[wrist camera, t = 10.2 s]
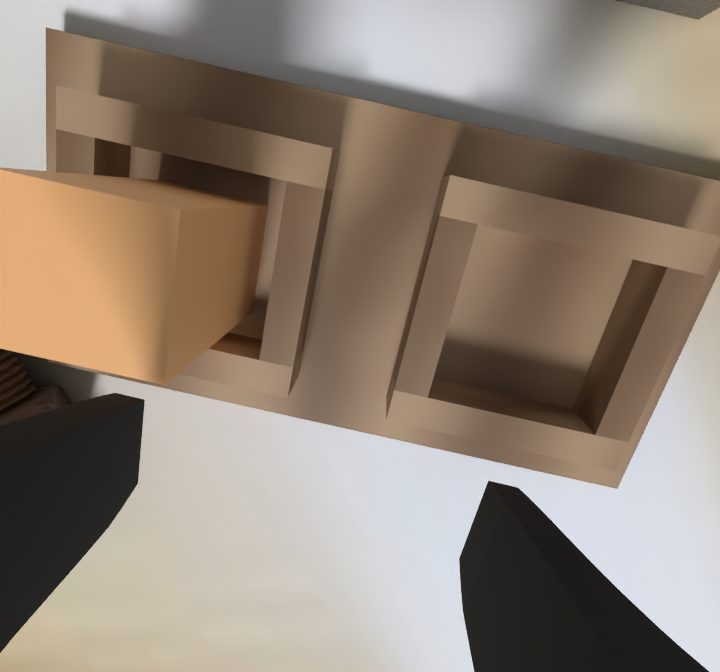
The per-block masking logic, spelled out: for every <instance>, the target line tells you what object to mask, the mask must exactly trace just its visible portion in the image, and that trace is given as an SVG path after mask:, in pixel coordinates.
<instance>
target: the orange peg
mask: <svg viewBox="0 0 720 672" xmlns="http://www.w3.org/2000/svg"><path fill="white" fill-rule="evenodd" d="M267 210H268V205H266V204H261V203H257V202H253V201H248V200H244V199H239V198H235V197H231V196H226V195H222V194H217V193H213V192H209V191H204V190H200V189H195V188H191V187H187V186H182V185H178V184H173V183H169V182H164V181H160V180H151V179H138V178H125V177H113V176H100V175H87V174H74V173H61V172H48V171H35V170H23V169H10V168H0V349H5V350H9V351H14V352H18V353H23V354H27V355H32V356H36V357H41V358H45V359H50V360H54V361H59V362H63V363H68V364H72V365H76V366H81V367H85V368H90V369H94V370H99V371H103V372H108V373H112V374H117V375H121V376H126V377H130V378H135V379H139V380H144V381H148V382H153V383H157V384H162V385H166V384H167V383H168V382H170V381H171V380H172V379H173V378H174V377H175V376H177V375H178V374H179V373H180V372H181V371H183V370H184V369H185V368H186V367H187V366H189V365H190V364H191V363H192V362H193V361H194V360H196V359H197V358H198V357H199V356H200V355H202V354H203V353H204V352H205V351H206V350H208V349H209V348H210V347H211V346H212V345H213V344H215V343H216V342H217V341H218V340H219V339H221V338H222V337H223V336H224V335H225V334H227V333H228V332H229V331H230V330H231V329H233V328H234V327H235V326H236V325H237V324H238V323H240V322H241V321H242V320H243V319H244V318H246V317H247V316H248V315H249V314H250V313H252V312H253V306H254V299H255V292H256V285H257V279H258V272H259V265H260V258H261V251H262V244H263V237H264V231H265V224H266V217H267Z"/></svg>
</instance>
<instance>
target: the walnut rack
mask: <svg viewBox="0 0 720 672" xmlns="http://www.w3.org/2000/svg"><path fill="white" fill-rule="evenodd" d="M46 155H47V171H48V172H61V173H74V174H87V175H100V176H113V177H125V178H138V179H151V180H160V181H164V182H169V183H173V184H178V185H182V186H187V187H191V188H195V189H200V190H204V191H209V192H213V193H217V194H222V195H226V196H231V197H235V198H239V199H244V200H248V201H253V202H257V203H261V204H266V205H268V210H267V217H266V224H265V231H264V237H263V244H262V251H261V258H260V265H259V272H258V279H257V285H256V292H255V299H254V306H253V312H252V313H250V314H249V315H248V316H247V317H246V318H244V319H243V320H242V321H241V322H240V323H238V324H237V325H236V326H235V327H234V328H233V329H231V330H230V331H229V332H228V333H227V334H225V335H224V336H223V337H222V338H221V339H219V340H218V341H217V342H216V343H215V344H213V345H212V346H211V347H210V348H209V349H208V350H206V351H205V352H204V353H203V354H202V355H200V356H199V357H198V358H197V359H196V360H194V361H193V362H192V363H191V364H190V365H189V366H187V367H186V368H185V369H184V370H183V371H181V372H180V373H179V374H178V375H177V376H175V377H174V378H173V379H172V380H171V381H170V382H168V383H167V384H166V385H162V384H157V383H153V382H148V381H144V380H139V379H135V378H130V377H126V376H121V375H117V374H112V373H108V372H103V371H99V370H94V369H90V368H85V367H81V366H76V365H72V364H68V363H63V362H59V361H54V360H50V359H47V362H49V363H54V364H58V365H63V366H67V367H72V368H76V369H81V370H85V371H90V372H94V373H99V374H103V375H108V376H112V377H117V378H121V379H126V380H130V381H135V382H139V383H144V384H148V385H153V386H157V387H162V388H166V389H171V390H175V391H180V392H184V393H189V394H193V395H198V396H202V397H207V398H211V399H216V400H220V401H225V402H229V403H234V404H238V405H243V406H247V407H252V408H256V409H261V410H265V411H270V412H274V413H279V414H283V415H288V416H292V417H297V418H301V419H306V420H310V421H315V422H319V423H324V424H328V425H333V426H337V427H342V428H346V429H351V430H355V431H360V432H364V433H369V434H373V435H378V436H382V437H387V438H391V439H396V440H400V441H405V442H409V443H414V444H418V445H423V446H427V447H432V448H436V449H441V450H445V451H450V452H454V453H459V454H463V455H468V456H472V457H477V458H481V459H486V460H490V461H495V462H499V463H504V464H509V465H513V466H518V467H522V468H527V469H531V470H536V471H540V472H545V473H549V474H554V475H558V476H563V477H567V478H572V479H576V480H581V481H585V482H590V483H594V484H599V485H603V486H608V487H612V488H618V486H619V484H620V482H621V480H622V477H623V475H624V473H625V471H626V469H627V467H628V465H629V462H630V460H631V458H632V456H633V454H634V452H635V450H636V448H637V445H638V443H639V441H640V439H641V437H642V435H643V433H644V430H645V428H646V426H647V424H648V422H649V420H650V418H651V416H652V413H653V411H654V409H655V407H656V405H657V403H658V401H659V398H660V396H661V394H662V392H663V390H664V388H665V386H666V384H667V381H668V379H669V377H670V375H671V373H672V371H673V369H674V366H675V364H676V362H677V360H678V358H679V356H680V354H681V352H682V349H683V347H684V345H685V343H686V341H687V339H688V337H689V334H690V332H691V330H692V328H693V326H694V324H695V322H696V319H697V317H698V315H699V313H700V311H701V309H702V307H703V305H704V302H705V300H706V298H707V296H708V294H709V292H710V290H711V287H712V285H713V283H714V281H715V279H716V277H717V275H718V273H719V270H720V181H718V180H713V179H709V178H704V177H700V176H696V175H691V174H687V173H683V172H678V171H674V170H669V169H665V168H661V167H656V166H652V165H647V164H643V163H639V162H634V161H630V160H625V159H621V158H617V157H612V156H608V155H603V154H599V153H595V152H590V151H586V150H582V149H577V148H573V147H568V146H564V145H560V144H555V143H551V142H546V141H542V140H538V139H533V138H529V137H524V136H520V135H516V134H511V133H507V132H502V131H498V130H494V129H489V128H485V127H481V126H476V125H472V124H467V123H463V122H459V121H454V120H450V119H445V118H441V117H437V116H432V115H428V114H423V113H419V112H415V111H410V110H406V109H401V108H397V107H393V106H388V105H384V104H380V103H375V102H371V101H366V100H362V99H358V98H353V97H349V96H344V95H340V94H336V93H331V92H327V91H322V90H318V89H314V88H309V87H305V86H300V85H296V84H292V83H287V82H283V81H279V80H274V79H270V78H265V77H261V76H257V75H252V74H248V73H243V72H239V71H235V70H230V69H226V68H221V67H217V66H213V65H208V64H204V63H199V62H195V61H191V60H186V59H182V58H178V57H173V56H169V55H164V54H160V53H156V52H151V51H147V50H142V49H138V48H134V47H129V46H125V45H120V44H116V43H112V42H107V41H103V40H99V39H94V38H90V37H85V36H81V35H77V34H72V33H68V32H63V31H59V30H55V29H50V28H46Z"/></svg>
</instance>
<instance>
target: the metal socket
mask: <svg viewBox="0 0 720 672" xmlns="http://www.w3.org/2000/svg"><path fill="white" fill-rule="evenodd" d="M617 1H621V2H626V3H630V4H634V5H639V6H643V7H648V8H652V9H656V10H661V11H665V12H669V13H674V14H678V15H682V16H687V17H691V18H695V19H700V18H702V17H704V16H705V15H707V14H709V13H711V12H712V11H714V10H716V9H718V8H719V7H720V0H617Z"/></svg>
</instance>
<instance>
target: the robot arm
mask: <svg viewBox="0 0 720 672" xmlns="http://www.w3.org/2000/svg"><path fill="white" fill-rule="evenodd" d="M143 412H144V400H143V399H139V398H134V397H130V396H126V395H122V394H117V393H113V394H108V395H104V396H100V397H96V398H92V399H88V400H85V401H81V402H78V403H74V404H71V405H68V406H64V407H61V408H58V409H54V410H51V411H48V412H44V413H41V414H38V415H34V416H31V417H28V418H24V419H21V420H18V421H14V422H11V423H8V424H4V425H1V426H0V653H1V651H2V650H3V649H4V648H5V646H6V645H7V644H8V643H9V642H10V640H11V639H12V638H13V637H14V635H15V634H16V633H17V632H18V631H19V630H20V629H21V627H22V626H23V625H24V624H25V623H26V622H27V621H28V619H29V618H30V617H31V616H32V615H33V614H34V613H35V611H36V610H37V609H38V608H39V607H40V606H41V605H42V603H43V602H44V601H45V600H46V599H47V598H48V596H49V595H50V594H51V593H52V592H53V591H54V590H55V588H56V587H57V586H58V585H59V584H60V583H61V582H62V580H63V579H64V578H65V577H66V576H67V575H68V574H69V572H70V571H71V570H72V569H73V568H74V567H75V566H76V564H77V563H78V562H79V561H80V560H81V559H82V557H83V556H84V555H85V554H86V553H87V552H88V550H89V549H90V548H91V547H92V546H93V545H94V543H95V542H96V541H97V540H98V539H99V538H100V536H101V535H102V534H103V533H104V532H105V530H106V529H107V528H108V527H109V525H110V524H111V523H112V521H113V520H114V518H115V517H116V515H117V514H118V512H119V511H120V510H121V508H122V507H123V505H124V504H125V502H126V501H127V499H128V497H129V496H130V494H131V493H132V491H133V490H134V488H135V487H136V485H137V484H138V474H139V461H140V449H141V437H142V424H143ZM459 561H460V578H461V593H462V604H463V613H464V619H465V624H466V630H467V635H468V640H469V645H470V651H471V656H472V661H473V666H474V671H475V672H709V671H708V670H706V669H705V668H704V667H703V666H702V665H701V664H699V663H698V662H697V661H696V660H695V659H694V658H692V657H691V656H690V655H689V654H688V653H686V652H685V651H684V650H683V649H682V648H681V647H680V646H678V645H677V644H676V643H675V642H674V641H673V640H672V639H671V638H669V637H668V636H667V635H666V634H665V633H664V632H663V631H662V630H661V629H659V628H658V627H657V626H656V625H655V624H654V623H653V622H652V621H651V620H650V619H649V618H648V617H647V616H646V615H645V614H644V613H642V612H641V611H640V610H639V609H638V608H637V607H636V606H635V605H634V604H633V603H632V602H631V601H630V600H629V599H628V598H627V597H626V596H625V595H623V594H622V593H621V592H620V591H619V590H618V589H617V588H616V587H615V586H614V585H613V584H612V583H611V582H610V581H609V580H608V579H607V578H606V577H605V576H604V575H603V574H602V573H601V572H600V571H599V570H598V569H597V568H596V567H595V566H594V565H593V564H592V563H591V562H590V561H589V560H588V559H587V558H586V557H585V555H584V554H583V553H582V552H581V551H580V550H579V549H578V548H577V547H576V546H575V545H574V544H573V543H572V542H571V541H570V540H569V539H568V538H567V537H566V536H565V535H564V534H563V533H562V532H561V531H560V529H559V528H558V527H557V526H556V525H555V524H554V523H553V522H552V521H551V520H550V519H549V518H548V517H547V516H546V515H545V514H544V513H543V512H542V511H541V510H540V509H539V508H538V507H537V506H536V505H535V504H534V503H533V502H532V501H531V500H530V499H529V498H528V497H527V496H526V495H525V494H524V493H523V492H522V491H521V490H520V489H519V488H516V487H512V486H508V485H504V484H499V483H495V482H491V481H488V484H487V486H486V489H485V492H484V494H483V497H482V500H481V502H480V505H479V508H478V510H477V513H476V516H475V518H474V521H473V524H472V526H471V529H470V532H469V534H468V537H467V540H466V542H465V545H464V548H463V550H462V553H461V556H460V559H459Z"/></svg>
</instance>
